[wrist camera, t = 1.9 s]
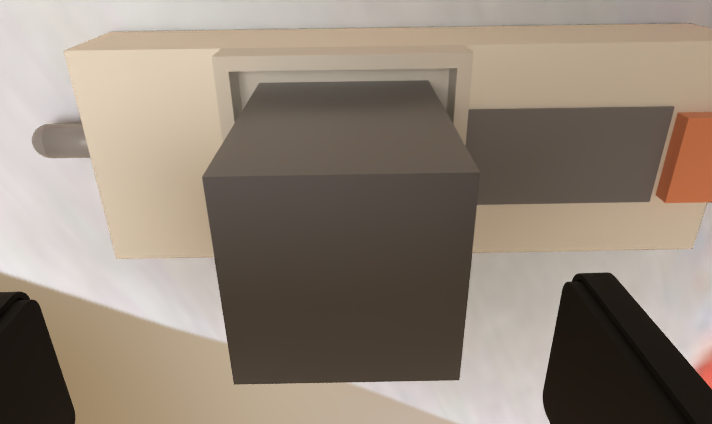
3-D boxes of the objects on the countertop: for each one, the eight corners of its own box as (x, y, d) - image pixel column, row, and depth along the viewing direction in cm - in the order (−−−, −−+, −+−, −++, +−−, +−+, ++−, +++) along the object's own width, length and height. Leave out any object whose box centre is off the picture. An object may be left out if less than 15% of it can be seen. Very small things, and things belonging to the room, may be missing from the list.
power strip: (690, 23, 19) (789, 47, 14) (643, 204, 22) (713, 267, 18) (23, 32, 18) (-72, 60, 14) (74, 213, 22) (9, 279, 17)
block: (428, 80, 16) (480, 172, 10) (420, 229, 18) (459, 382, 12) (259, 82, 16) (202, 177, 10) (273, 232, 18) (234, 386, 12)
